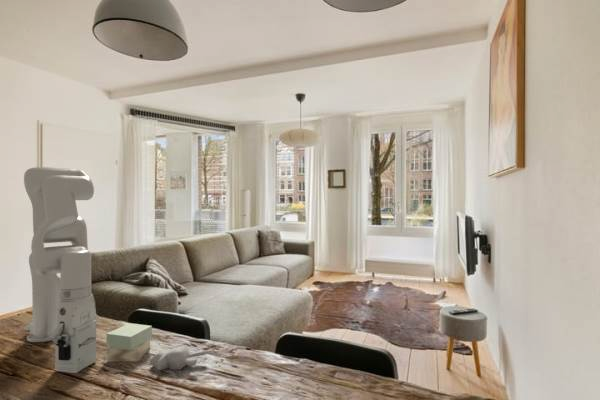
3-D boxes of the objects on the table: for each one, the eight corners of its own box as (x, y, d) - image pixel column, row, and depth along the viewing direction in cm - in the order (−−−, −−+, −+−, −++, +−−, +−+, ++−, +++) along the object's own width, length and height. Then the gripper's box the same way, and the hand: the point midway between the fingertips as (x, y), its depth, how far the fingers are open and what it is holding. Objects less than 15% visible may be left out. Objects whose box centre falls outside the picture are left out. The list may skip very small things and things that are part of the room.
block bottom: (107, 362, 100) (107, 349, 100) (122, 349, 109) (122, 337, 109) (138, 362, 101) (137, 348, 101) (150, 348, 110) (150, 336, 110)
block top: (106, 346, 102) (106, 333, 102) (129, 335, 111) (129, 323, 111) (130, 350, 100) (130, 336, 100) (151, 338, 108) (151, 325, 108)
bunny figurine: (162, 344, 104) (207, 341, 101) (163, 360, 103) (209, 358, 101) (142, 358, 94) (191, 356, 92) (144, 376, 94) (193, 374, 92)
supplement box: (76, 374, 93) (76, 328, 93) (54, 371, 95) (54, 326, 95) (97, 361, 101) (97, 319, 101) (76, 359, 102) (76, 317, 102)
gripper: (63, 302, 89) (63, 368, 89) (108, 285, 106) (108, 341, 106) (37, 301, 90) (38, 367, 90) (87, 284, 107) (87, 339, 107)
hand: (76, 352), depth 98 cm, fingers open, 7 cm apart
